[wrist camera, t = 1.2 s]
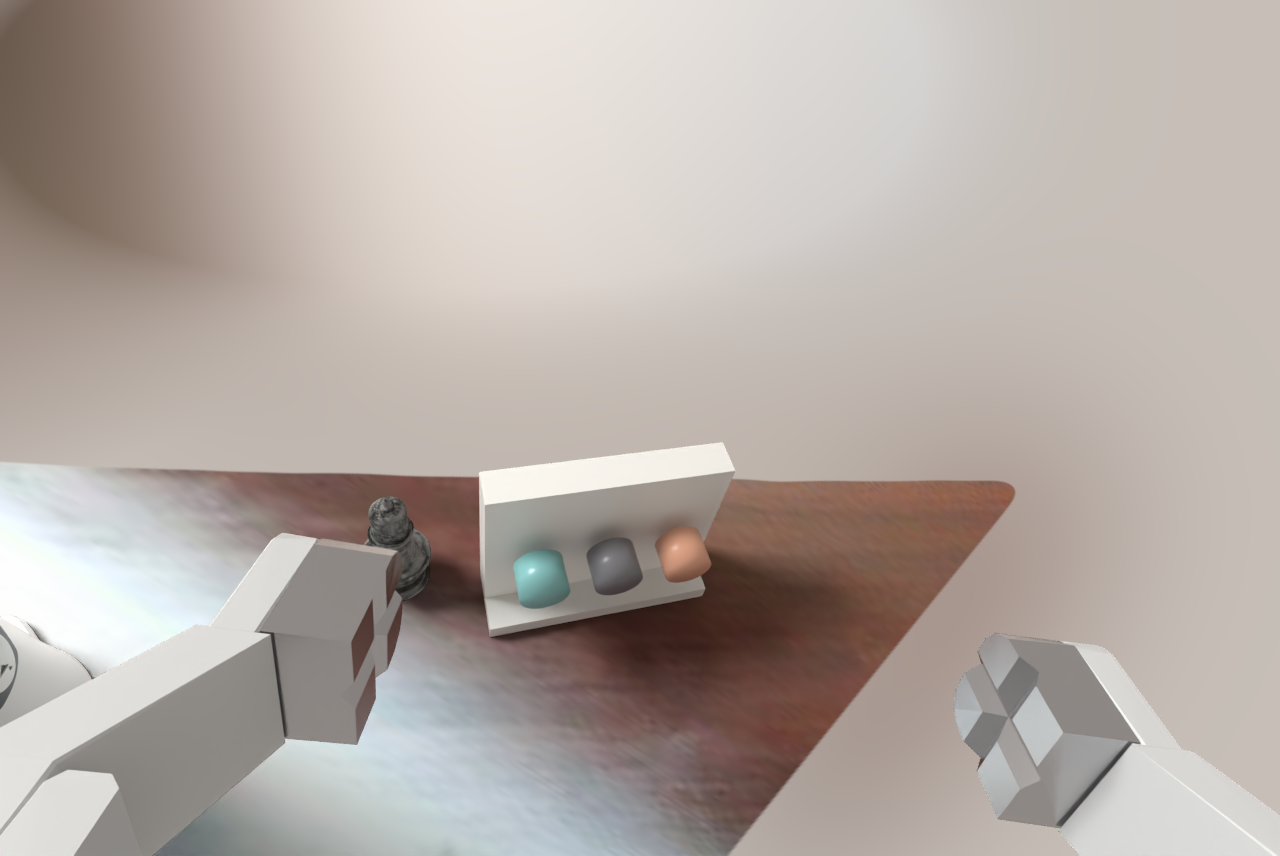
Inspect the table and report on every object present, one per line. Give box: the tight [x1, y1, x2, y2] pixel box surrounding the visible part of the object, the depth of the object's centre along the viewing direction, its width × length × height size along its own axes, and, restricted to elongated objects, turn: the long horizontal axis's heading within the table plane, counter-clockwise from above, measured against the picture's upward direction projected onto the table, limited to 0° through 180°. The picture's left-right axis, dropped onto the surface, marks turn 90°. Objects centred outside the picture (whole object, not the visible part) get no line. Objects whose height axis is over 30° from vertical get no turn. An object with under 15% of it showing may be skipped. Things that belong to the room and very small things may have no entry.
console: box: [479, 442, 735, 637], centre depth 59 cm, size 20×6×16 cm, turn 106°
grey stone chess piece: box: [364, 497, 431, 601], centre depth 59 cm, size 6×6×12 cm
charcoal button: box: [586, 537, 643, 595], centre depth 57 cm, size 4×3×4 cm
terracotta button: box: [655, 527, 711, 583], centre depth 59 cm, size 4×3×4 cm
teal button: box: [513, 549, 570, 609], centre depth 55 cm, size 4×3×4 cm
